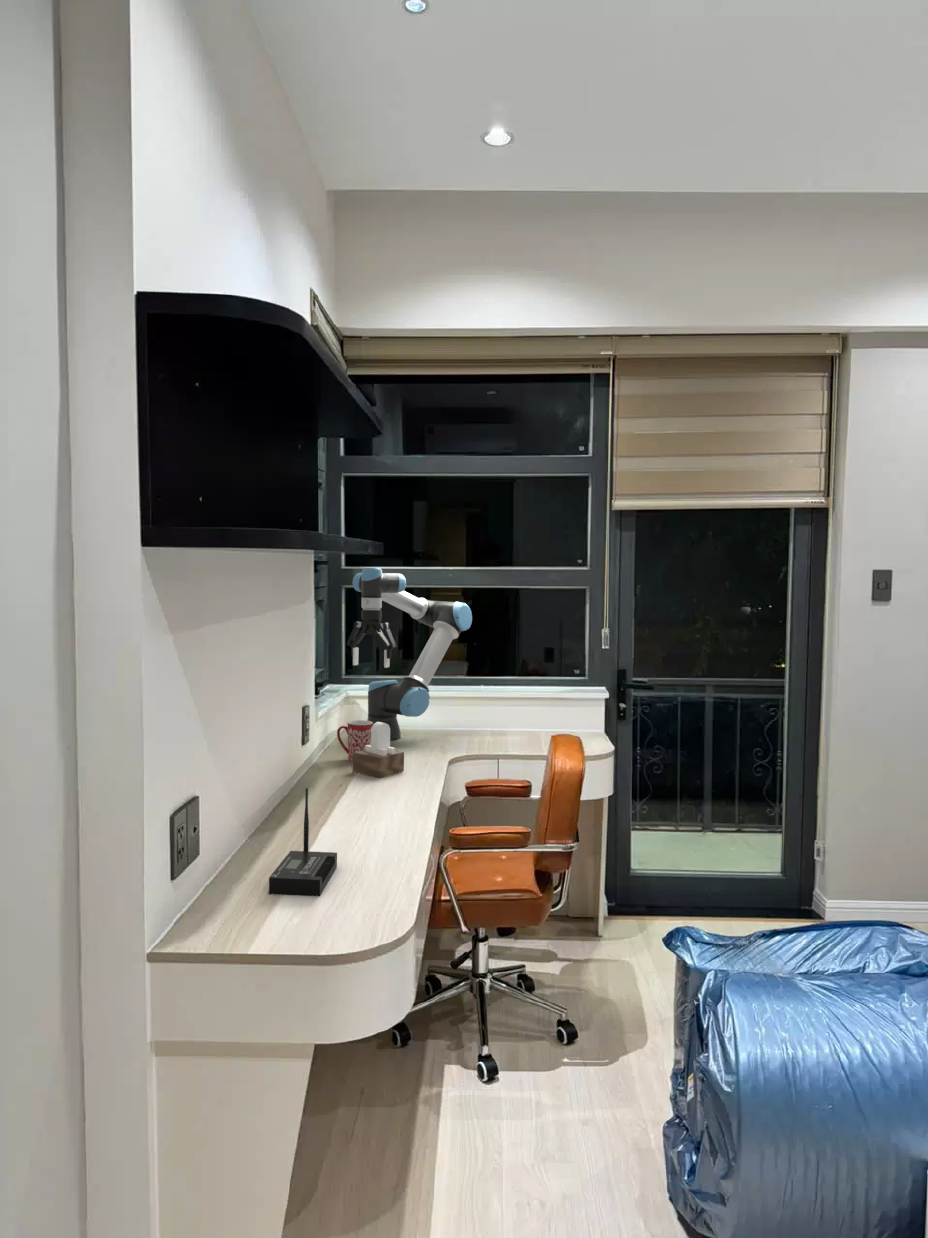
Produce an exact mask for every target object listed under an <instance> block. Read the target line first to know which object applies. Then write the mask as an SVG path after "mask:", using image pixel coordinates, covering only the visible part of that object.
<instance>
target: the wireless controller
mask: <svg viewBox="0 0 928 1238" xmlns="http://www.w3.org/2000/svg"><path fill="white" fill-rule="evenodd" d="M304 794H305V796H304V797H305V798H304V799H305V803H304V818H303V850H290V851H289V852H288V853H287V855H286V856H285V857H284V858H283V860H282V861H281V862H280V864H279V865H278V866H277V867H276V869H275V870H274V871H273V872H272V873H271V874H270V876H269V877H268V895H276V896H277V895H282V896H300V897H301V896H302V897H303V896H304V897H305V896H306V897H321V895H322V894H323V892H324V890H325V888H326V887H327V885H328V884H329V882H330V880H331V878H332V877H333V875H334V874H335V871H336V870H337V868H338V852H329V851H327V852H326V851H309V848H310V847H309V842H310V841H309V840H310V839H309V835H310V826H309V825H310V824H309V823H310V822H309V821H310V820H309V817H310V816H309V788H308V787H306V788H305V793H304Z"/></svg>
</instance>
